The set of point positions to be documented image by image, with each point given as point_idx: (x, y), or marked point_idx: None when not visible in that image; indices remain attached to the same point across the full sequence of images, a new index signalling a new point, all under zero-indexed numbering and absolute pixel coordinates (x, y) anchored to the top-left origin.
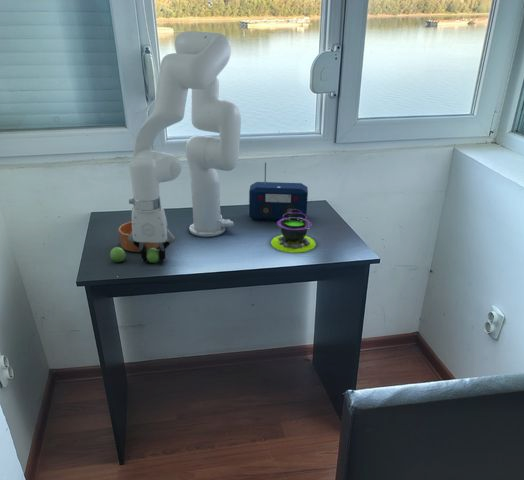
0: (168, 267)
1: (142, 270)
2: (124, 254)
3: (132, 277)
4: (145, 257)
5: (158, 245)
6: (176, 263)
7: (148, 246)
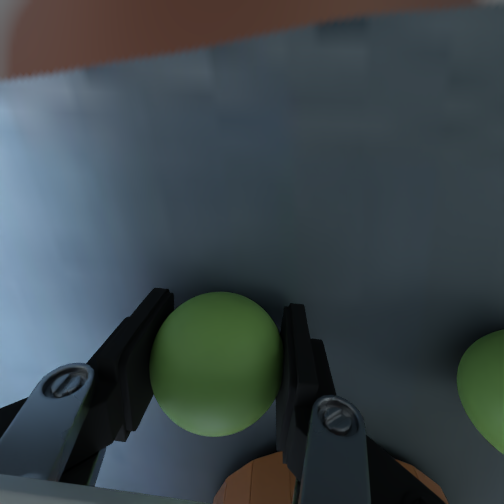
0: (107, 231)
1: (308, 189)
2: (487, 388)
3: (407, 28)
4: (286, 332)
5: (221, 492)
6: (69, 290)
7: (277, 484)
